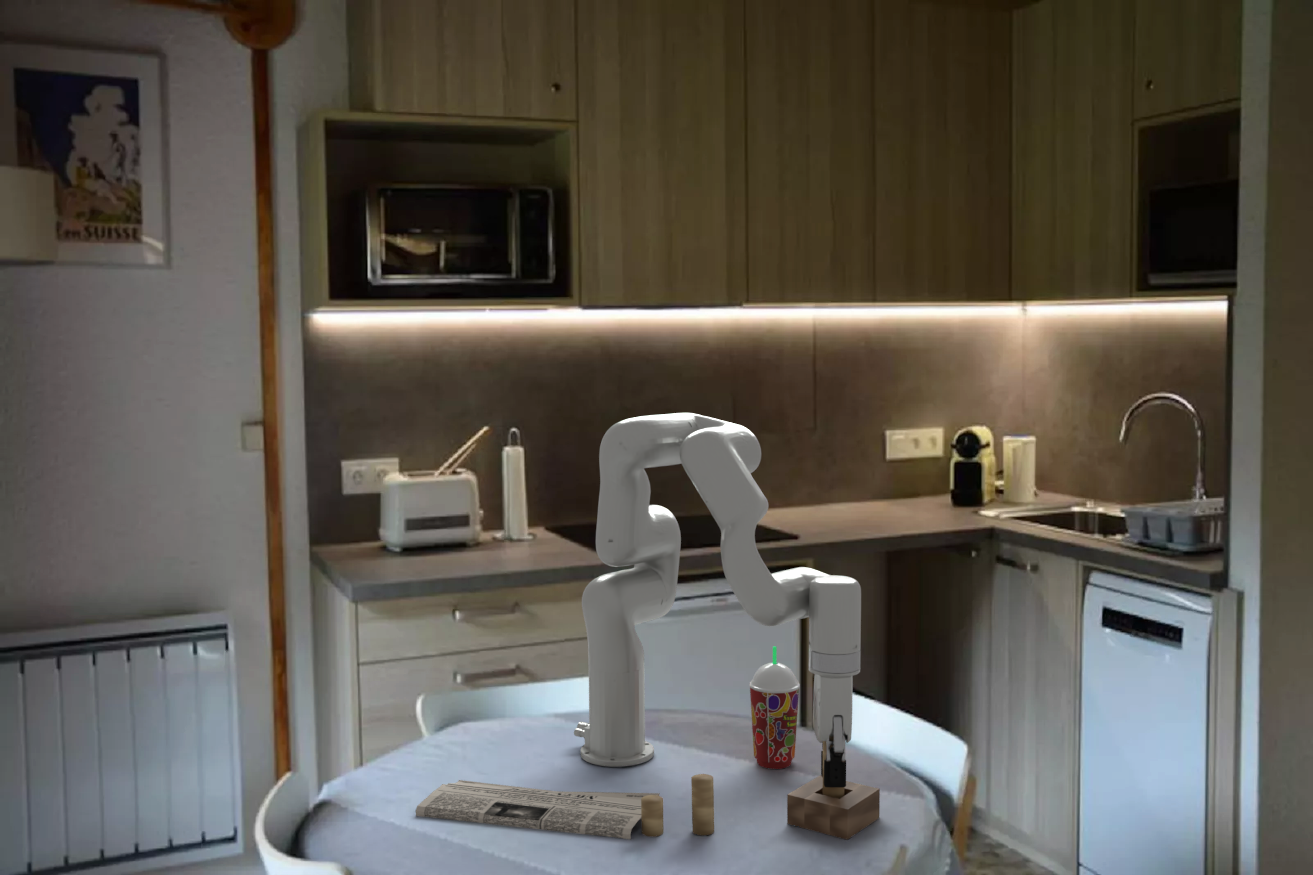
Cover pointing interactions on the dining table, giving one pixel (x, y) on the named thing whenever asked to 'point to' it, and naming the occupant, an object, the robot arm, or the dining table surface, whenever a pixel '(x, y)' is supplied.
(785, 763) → the smoothie
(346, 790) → the dining table surface
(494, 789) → the newspaper
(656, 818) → the short dowel
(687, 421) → the robot arm
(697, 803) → the medium dowel
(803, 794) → the collar
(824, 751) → the long dowel
